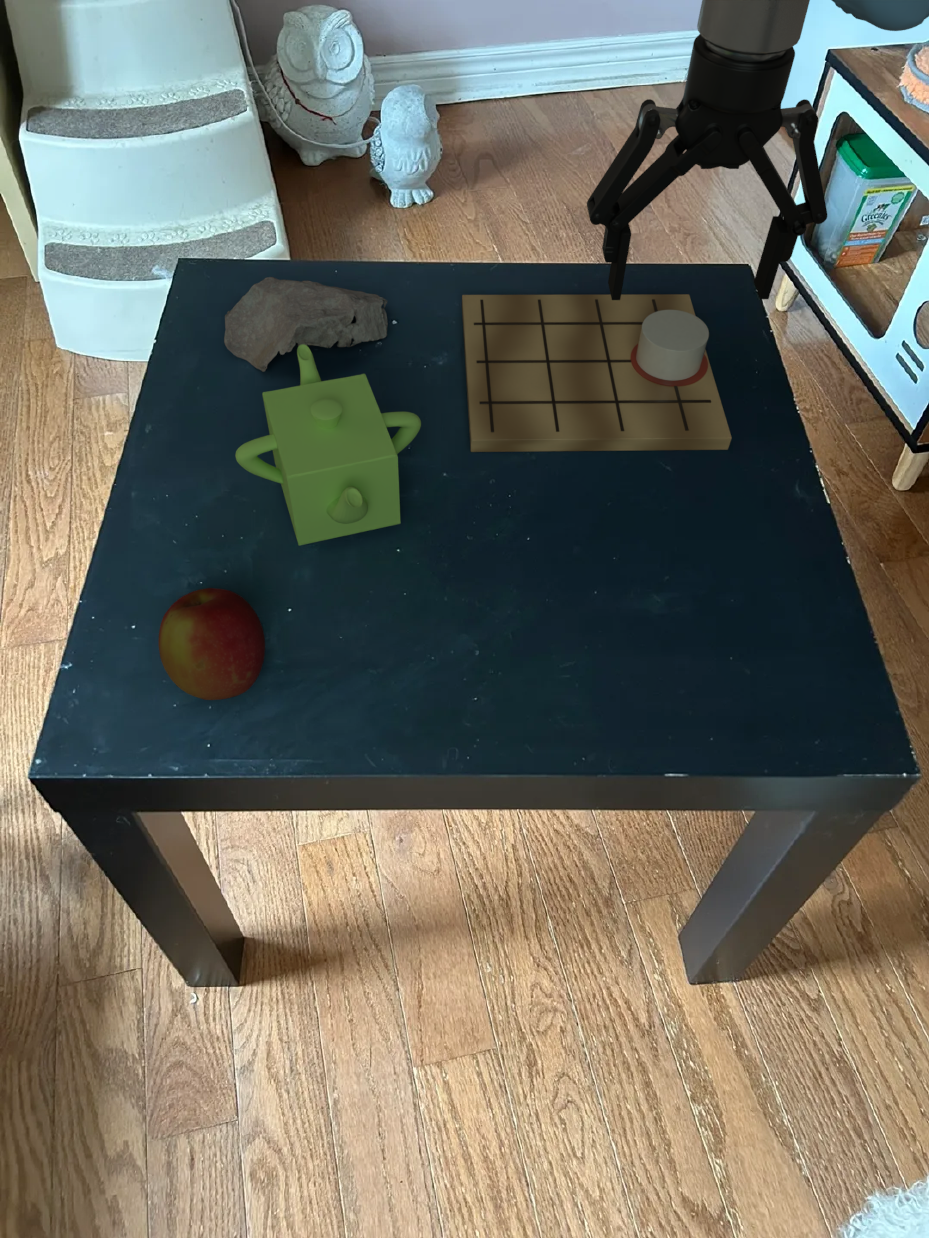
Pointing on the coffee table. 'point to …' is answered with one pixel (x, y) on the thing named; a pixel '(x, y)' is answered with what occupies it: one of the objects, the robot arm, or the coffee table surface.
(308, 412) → the teapot
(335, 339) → the stone
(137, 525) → the coffee table surface
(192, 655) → the apple
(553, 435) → the board
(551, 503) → the coffee table surface
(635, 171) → the robot arm
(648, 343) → the gray cylinder
